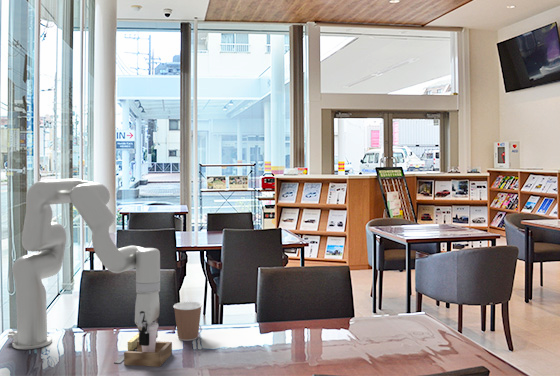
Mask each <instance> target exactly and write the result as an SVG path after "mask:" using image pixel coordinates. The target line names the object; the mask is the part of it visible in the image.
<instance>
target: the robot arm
mask: <svg viewBox="0 0 560 376" xmlns="http://www.w3.org/2000/svg"><path fill="white" fill-rule="evenodd" d="M25 199H26V200H25V202H26V203H25V204H26V205H25V215H24V221H23V227H22V234H21V245H22V247H23V249H24V250H25V251H28V252H34V253H29V254H25V255H22V256H20V257H18V258H17V259H16V260H15V261H14V262H13V264H12V268H11V269H12V277H13V281H14V284H15V295H16V296H15V297H16V298H15V299H16V330H9V331H8V334H7V338H8V339H14V340H13V342H12V344H11V345H12V348H13V349H16V350H24V351H25V350H35V349H41V348H43V347H46V346H49V345H50V344H51V343H52V341H53V338H52V337H51V336H49V335H48V323H47V322H48V319H47V318H48V315H47V307H48V306H47V291H46V288H45V286H44V284H43V282H42V280H43V279H47V278H51V277H53V276H55V275H57V274H59V272H60V270H61V269H62V266H63V261H64V254H65V249H66V243H67V233H66V229H65V227H64V226H63V225H62V224H61V223H60V222H58V221H57V222H56V221H53V210H52V207H51V205H59V204H60V205H61V204H72V206H73V207H74V208H75V209H76V211H77V213H78V214H79V215H80V216H81V218H82V219H83V221H84V222H85V224H86V225H87V226H88V228H89V229H90V231H91V242H92V247H93V251H94V253H95V255H96V256H97V258H98V259H99V261H100V263H101V264H102V266H104V268H106V269H107V270H108V271H110V272H111V273H114V274H120V273H123V272H126V271H129V270H130V271H131V270H133V269H135V274H136V275H135V288H136V289H135V290H136V291H135V292H136V298H135V304H134V305H135V308H134V324H136V327H137V330H138V333H139V345H142V346H148V345H149V333H148V329H149V324H150V323H152V322H156V323H158V324H159V322H158V319H159V316H160V295H159V294H160V292H161V251H160V250H159V249H158V248H156V247H155V248H154V247H143V246H138V245H127V246H124V247H120V248H118V247H117V246H116V244H115V242H114V240H112V238H111V236H110V227H111V226H112V225H113V224H114V222H115V221H116V220H115V216H114V214H113V213H112V211H111V210H110V209H109V207H108V206H107V205H108V203H109V202H110V199H111V196H110V191H109V189H108V188H107V186H105V185H104V184H103V183H101V182H95V181H94V182H93V181H88V180H84V179H83V180H82V179H78V178H57V179H54V178H53V179H52V178H51V179H43V180H38V181H36V182H34V183H33V184H32V185H31V186H30V187H29V188H28V190H27V192H26V198H25ZM145 322H147V323H145ZM143 325H146V329H145V327H143ZM158 330H159V329H157V337H156V339H158V338H159V337H158Z"/></svg>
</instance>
